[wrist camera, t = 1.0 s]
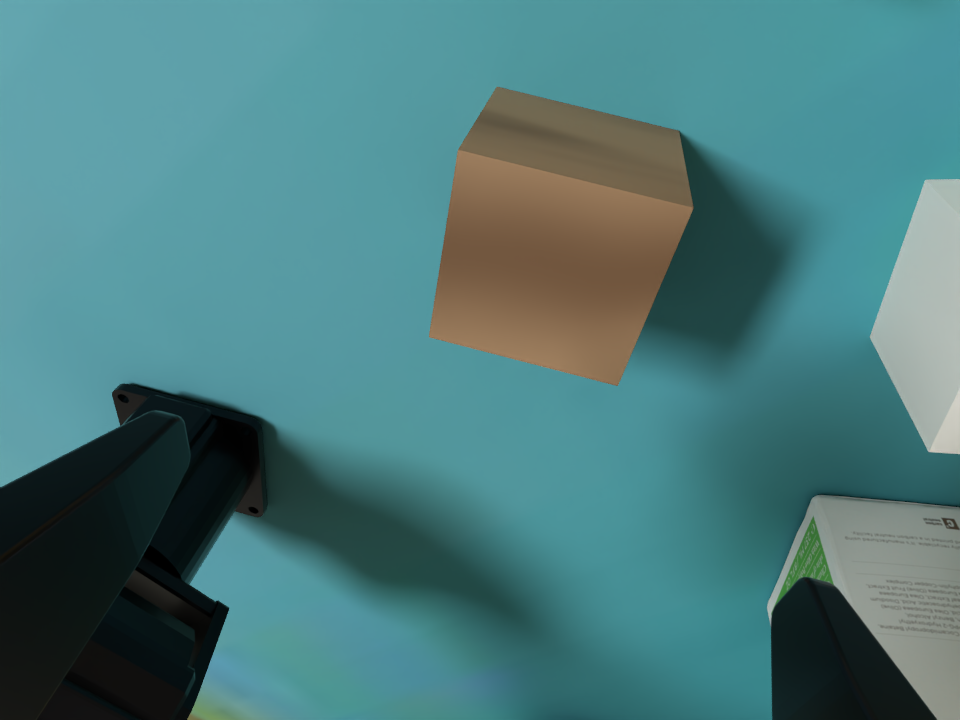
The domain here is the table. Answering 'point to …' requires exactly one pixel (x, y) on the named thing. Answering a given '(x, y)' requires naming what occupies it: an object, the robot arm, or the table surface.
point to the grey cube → (926, 318)
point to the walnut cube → (559, 234)
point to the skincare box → (891, 582)
